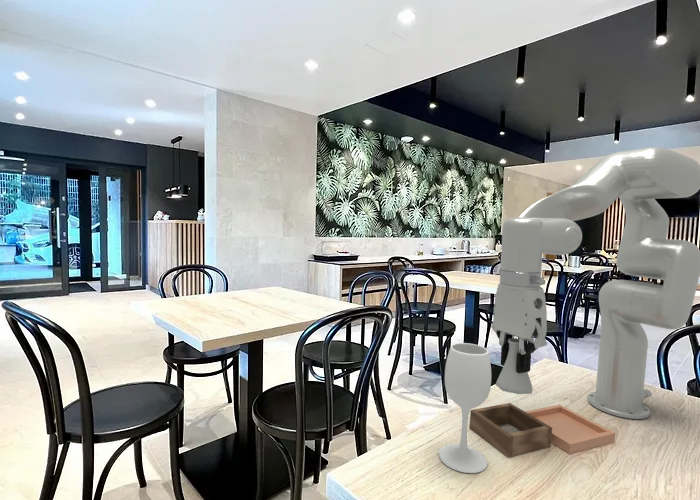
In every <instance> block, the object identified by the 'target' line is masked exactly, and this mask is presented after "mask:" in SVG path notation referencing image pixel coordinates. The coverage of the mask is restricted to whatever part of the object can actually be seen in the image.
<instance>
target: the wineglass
mask: <svg viewBox="0 0 700 500" xmlns="http://www.w3.org/2000/svg"><path fill="white" fill-rule="evenodd" d="M491 385H492V367H491V357H490V352H489V350H488V349H487V348H486V347H484V346H481V345H479V344H474V343H467V342H457V343H453V344H452V345H451V346H450V347H449V350H448V354H447V357H446V361H445V368H444V386H445V391H446V393H447V396H448V397H449V398H450V399H451V401H452V402H453V403H454V404H456V405H457V406H459V407H460V409H461V417H462V419H461V433H460V441H459V443H450V444H447V445H444V446H443V447H441V448H440V449H439V451H438V456H439V459H440V461H441V462H442V463H443V464H444V465H445V466H447V467H448V468H450V469H452V470H454V471H456V472H461V473H465V474H477V473H481V472H482V471H484V470H486V468H487V467H488V460H487V458H486V456H484V454H483V453H482V452H481V451H479V450H478V449H476V448H474V447H472V446H469V445H468V421H469V415H470V411H471V410H473V409H474V408H475V409H476V408H477V407H479V406H481V405H482V404H484V403H485V402H486V401H487V399H488V397H489V395H490V392H491Z"/></svg>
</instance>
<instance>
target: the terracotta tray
mask: <svg viewBox="0 0 700 500" xmlns="http://www.w3.org/2000/svg"><path fill="white" fill-rule="evenodd" d="M524 411H525V412H526V413H528V414H530V415H531V416H533V417H535V418H537V419H538V420H540V421H542V422H543V423H545V424H547V425H548V426H550V427H552V436H551V444H553V445H555V446H556V447H558V449H561V451H564V452H565V453H567V454H569V455H572V454H575V453H579V452H583V451H584V452H585V451H586V450H591V449H594V448H598V447H602V446H606V445H609V444H613V443H614V444H615V439H616V432H614V431H612V430H610V429H609V428H606V427H604V426H602V425H600V424H599V423H597V422H594V421H593V420H591V419H589V418H587V417H586V416H583V415H581V414H579V413H577V412H575V411H573V410H571V409H570V408H567V407H565V406H563V405H562V404H555V405H551V406H545V407H540V408H535V409H529V410H524Z"/></svg>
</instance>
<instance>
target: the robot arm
mask: <svg viewBox="0 0 700 500" xmlns="http://www.w3.org/2000/svg"><path fill="white" fill-rule="evenodd" d="M699 190H700V163H699V162H698V161H697V160H695V159H694V158H692V157H690V156H687V155H684V154H682V153H679V152H677V151H675V150H671V149H668V148H664V147H656V146H654V147H653V146H652V147H645V148H638V149H637V148H635V149H630V150H622V151H617V152H613V153H610V154H607V155H605V156H604V157H602V158H601V159H600V160H599V161H597V162H596V164H594V165H593V166H592V167H591V168H590V169H589V170H588V171H587V172H586V173H584V175H582V176H581V177H580V178H579V179H577V181H576V182H575V183H573V184H572V185H570V186H568V187H565V188H562V189H561V190H558V191H556V192H554V193H552V194H550V195H548V196H546V197H544V198H541V199H540V200H538V201H536V202H535V203H533V204H531V205H530V206H529V207H527V208H526V209H525V210H524V211H523V212H522V213H521V214H519V215H518V216H517V217H510V218H507V219H505V220H504V222H503V224H502V233H501V235H502V236H501V249H500V250H501V251H500V252H501V254H500V270H499V272H500V274H499V283H498V284H497V288H496V292H495V297H494V304H493V305H494V306H493V316H492V317H493V318H492V323H491V325H490V327H491V329H492V330H493V332H494V333H495V334H496V336H497V338H498V344H499V346H500V347H501V348H500V349H501V350H500V351H501V352H500V365H501V366H504V364H505V362H506V359H507V356H508V352H509V342H508V339H509V338H515V337H516V338H517V339H519V352H520V353H517V358H516V372H517V373H525V372H528V373H529V372H530V371H531V363H532V362H531V361H532V354H534V353H535V351H537V350H538V349H540V348H543V347H546V346H547V345H548V343H547V339H546V336H547V331H548V330H547V329H548V327H547V325H548V324H547V322H548V319H547V318H548V314H547V301H546V299H547V298H546V295H545V291H544V288H541V285H543V284H544V282H545V279H544V278H543V277H542V268H543V267H542V265H543V254H545V255H555V256H561V255H562V256H564V255H568V254H571V253H573V252H574V251H576V250H577V249H578V248H579V247H580V245H581V243H582V241H583V232H582V229H581V227H580V226H579V225H578V224H577V223H576V222H575V221H580V220H584V219H587V218H592V217H595V216H597V215H600V214H602V213H604V212H605V211H606V210H607V209H608V208H610V206H611V205H612V204H613V203H614V202H616V200H617V199H619V201H620V202H621V204H622V207H623V210H624V213H625V223H624V227H623V232H622V236H621V240H620V244H619V247H618V250H617V251H618V252H617V256H616V262H615V264H616V267H617V269H618V271H620V273H623V274H624V275H628V276H633V277H637V278H638V277H639V278H646V279H651V280H653V279H654V280H661V281H663V284H655V283H649V282H648V283H647V282H643V281H635V280H630V279H629V280H628V279H627V280H626V279H614V280H610V281H607V282H605V283H604V284H603V285H602V286H601V288H600V290H599V293H598V305H599V312H600V339H599V347H598V348H599V350H598V358H597V359H598V360H597V369H596V370H597V371H596V372H597V373H596V384H595V391H593V392H590V393H589V394H588V395H587V400H588V402H589V404H590V405H592V407H594V408H596V409H598V410H600V411H602V412H604V413H606V414H609V415H611V416H612V415H613V416H616V417H620V418H624V419H630V420H631V419H632V420H644V419H647V418H648V417H650V416H651V415H650V414H651V410H650V408H649V407H648V406H647V405H646V404H645V403H644V400H645V399H646V398H651V397H652V395H653V393H652V391H651V390H650V389H647V388H645V379H646V368H647V360H648V359H647V357H648V348H649V340H648V336H647V334H646V332H645V330H644V328H643V326H642V325H643V324H644V325H647V326H651V327H652V326H653V327H656V328H660V329H666V330H679V329H680V328H682V327H684V326H685V324H686V323H687V322H688V319H689V317H690V315H691V312H692V309H693V304H694V299H695V297H696V292H697V287H698V284H699V279H700V249H699V246H697V245H696V244H695V243H693V242H691V241H688V240H684V239H671V238H670V239H669V238H667V236H668V230H669V227H670V219H669V215H668V214H667V212H666V211H665V209H664V208H663V207H662V206H661V204H659V203H658V201H657V200H658V199H661V200H662V199H681V198H682V199H684V198H688V197H691V196H693V195H695V194H696V193H698V192H699ZM656 199H657V200H656ZM641 324H642V325H641Z"/></svg>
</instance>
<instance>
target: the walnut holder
mask: <svg viewBox="0 0 700 500" xmlns="http://www.w3.org/2000/svg"><path fill="white" fill-rule="evenodd" d="M525 411H526V410H522V409H521V408H519V407H518V406H516V405H515V404H513V403H511V402H508V403H501V404H496V405H491V406H485V407H480V408H475V409H474V408H473V409H471V410H470V411H469V415H470V417H469V429H470V430H471V431H472V432H473V433H475V434H476V435H478V437H480V438H482V439H483V440H484V441H485V442H487V443H488V444H490V446H492V447H493V448H495V449H496V450H497V451H499V452H500V453H501V454H502V455H503V456H505V457H507V458H508V459H509V458H512V457H517V456H519V455H524V454H528V453H532V452H537V451H539V450H540V451H541V450H543V449H544V450H545V449H549V448H551V446H552V443H551V436H552V427H550V426H548V425H547V424H545V423H543V422H542V421H540V420H538V419H537V418H535V417H533V416H531V415H530V414H528V413H526V412H525ZM506 424H510V425H511V426H513V427H514V428H516V429H517V430H519V431H515V432H508V431H506V430H505V429H503V428H502V427H501V425H506Z"/></svg>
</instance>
